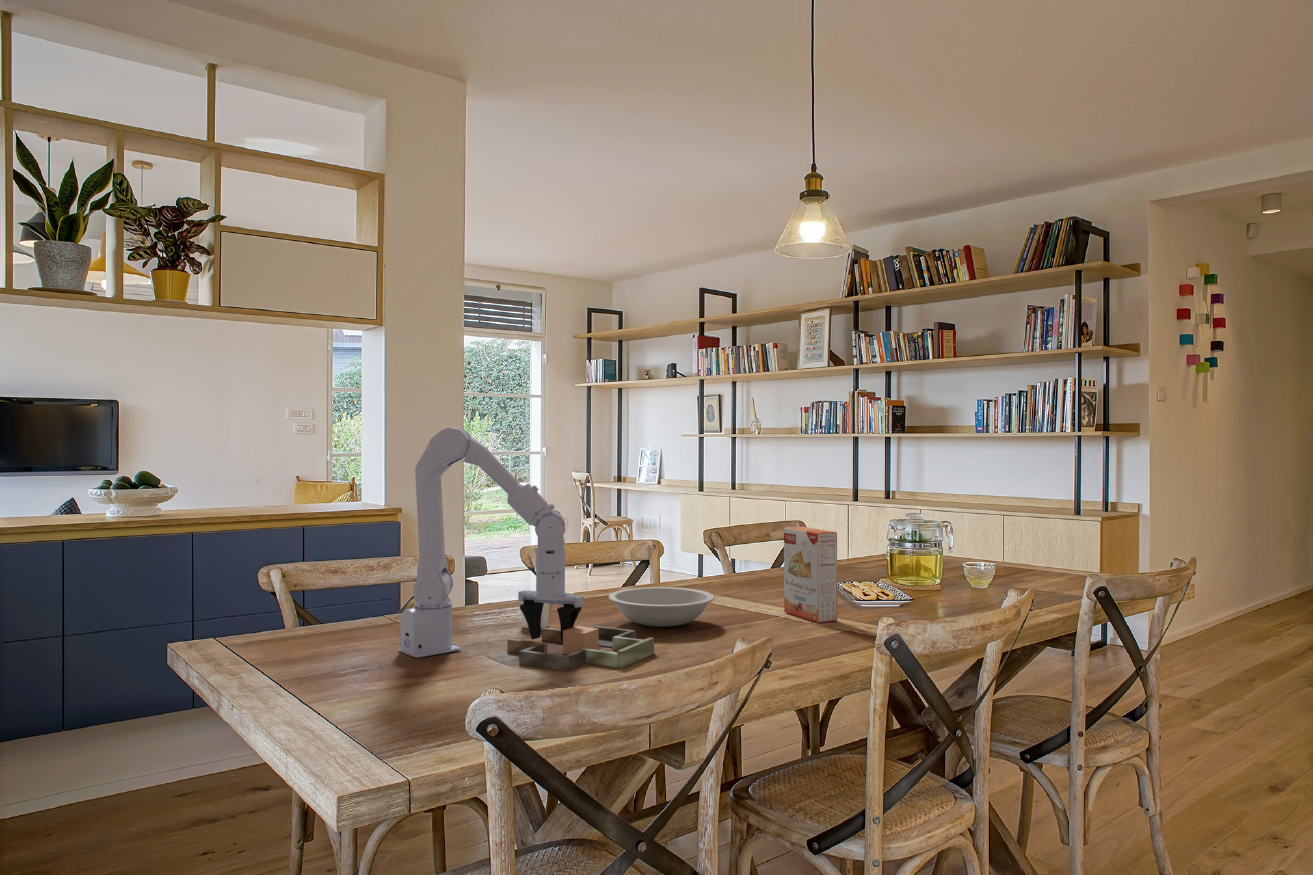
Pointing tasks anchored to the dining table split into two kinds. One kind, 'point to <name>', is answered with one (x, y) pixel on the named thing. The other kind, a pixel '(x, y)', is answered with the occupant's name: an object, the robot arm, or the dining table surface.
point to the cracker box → (810, 573)
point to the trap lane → (584, 650)
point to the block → (580, 639)
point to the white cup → (543, 617)
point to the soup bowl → (661, 605)
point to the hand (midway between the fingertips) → (550, 640)
